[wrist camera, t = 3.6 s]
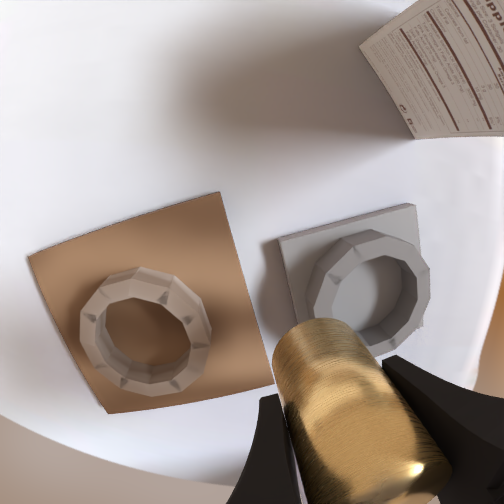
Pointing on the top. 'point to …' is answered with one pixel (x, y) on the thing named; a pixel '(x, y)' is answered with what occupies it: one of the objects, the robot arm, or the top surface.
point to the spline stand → (361, 275)
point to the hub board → (156, 308)
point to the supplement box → (444, 67)
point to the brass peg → (352, 422)
